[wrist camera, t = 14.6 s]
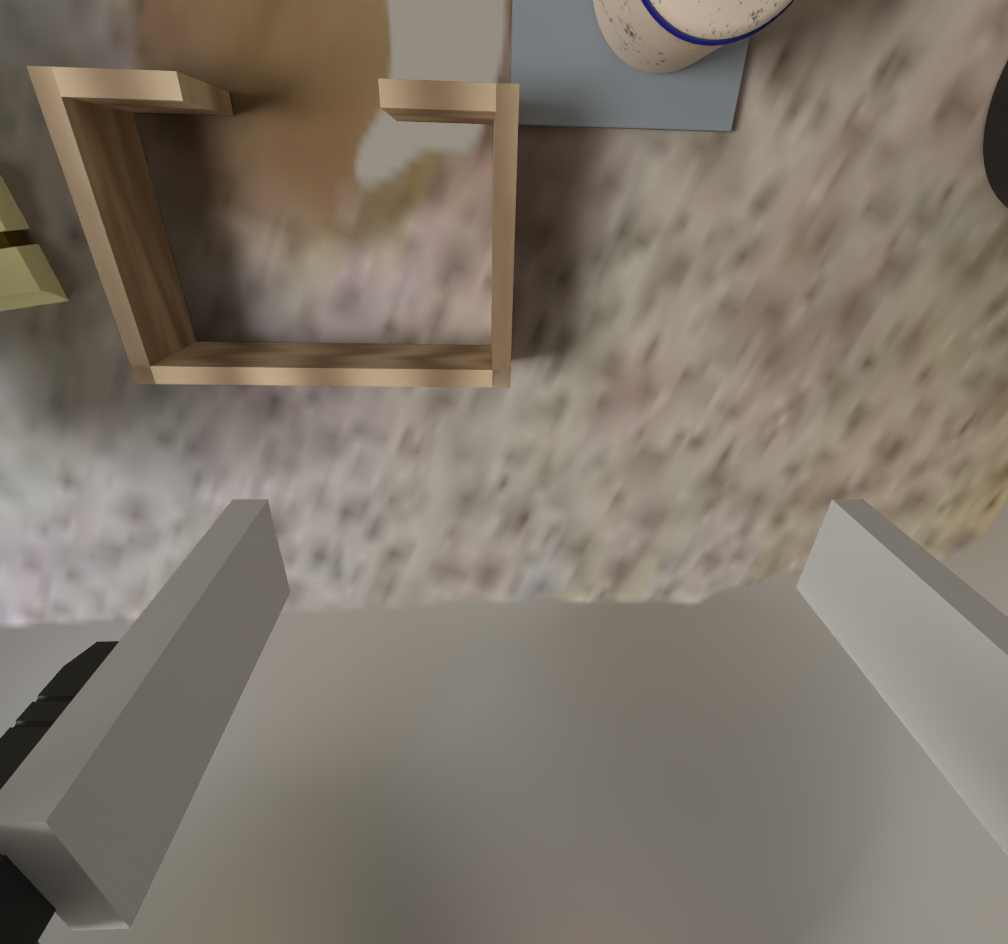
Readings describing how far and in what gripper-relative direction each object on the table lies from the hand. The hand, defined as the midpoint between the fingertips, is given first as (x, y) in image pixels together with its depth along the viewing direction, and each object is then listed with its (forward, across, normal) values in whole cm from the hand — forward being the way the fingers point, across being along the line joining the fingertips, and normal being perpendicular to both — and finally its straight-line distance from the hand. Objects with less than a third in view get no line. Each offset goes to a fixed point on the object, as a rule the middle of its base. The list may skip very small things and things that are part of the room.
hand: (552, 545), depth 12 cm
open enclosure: (+29, +12, -4) cm, 31 cm away
